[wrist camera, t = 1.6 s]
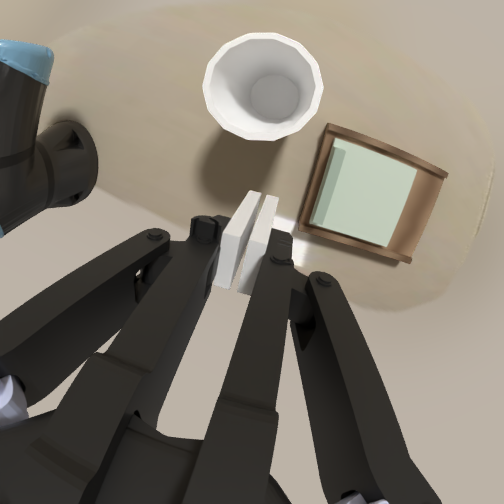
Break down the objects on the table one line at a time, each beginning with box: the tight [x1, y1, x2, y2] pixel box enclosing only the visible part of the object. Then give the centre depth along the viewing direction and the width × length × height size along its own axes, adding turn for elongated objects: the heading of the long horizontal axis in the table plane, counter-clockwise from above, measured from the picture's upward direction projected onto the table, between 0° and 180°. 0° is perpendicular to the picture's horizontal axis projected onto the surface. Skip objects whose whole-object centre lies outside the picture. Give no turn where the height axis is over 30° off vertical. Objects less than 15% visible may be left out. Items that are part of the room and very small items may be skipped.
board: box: [298, 123, 448, 264], centre depth 32 cm, size 17×14×3 cm
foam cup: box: [202, 33, 324, 141], centre depth 23 cm, size 10×9×13 cm
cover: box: [309, 138, 417, 247], centre depth 30 cm, size 11×11×3 cm
